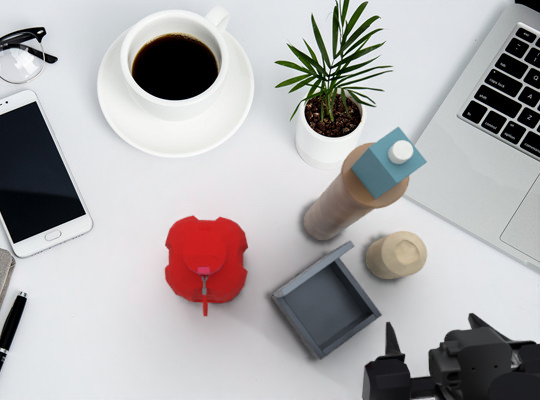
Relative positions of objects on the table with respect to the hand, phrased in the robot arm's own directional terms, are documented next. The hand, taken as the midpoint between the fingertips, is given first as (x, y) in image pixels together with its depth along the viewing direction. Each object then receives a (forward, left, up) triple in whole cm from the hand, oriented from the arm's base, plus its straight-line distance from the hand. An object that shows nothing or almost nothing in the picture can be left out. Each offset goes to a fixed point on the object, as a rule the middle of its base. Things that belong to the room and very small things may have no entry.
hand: (428, 320), depth 69 cm
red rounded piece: (+19, +17, -14) cm, 29 cm away
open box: (+7, +7, -14) cm, 17 cm away
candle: (+7, -4, -14) cm, 16 cm away
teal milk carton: (+16, 0, +16) cm, 23 cm away
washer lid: (+11, +7, -2) cm, 14 cm away
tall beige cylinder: (+16, 0, -14) cm, 21 cm away
